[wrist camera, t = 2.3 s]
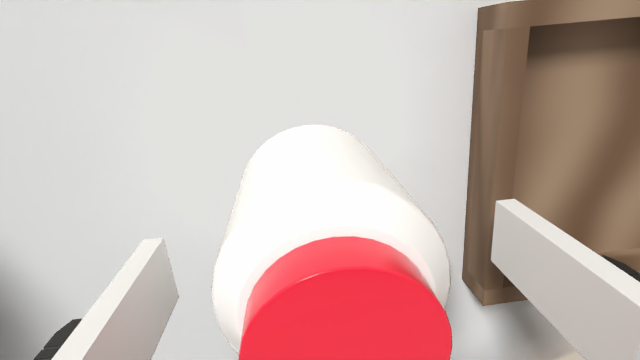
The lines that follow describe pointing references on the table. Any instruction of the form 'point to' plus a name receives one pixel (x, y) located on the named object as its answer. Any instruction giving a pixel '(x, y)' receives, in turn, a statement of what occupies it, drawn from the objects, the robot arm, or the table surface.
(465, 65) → the table surface
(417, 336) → the pill bottle
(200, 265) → the table surface
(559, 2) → the tray
